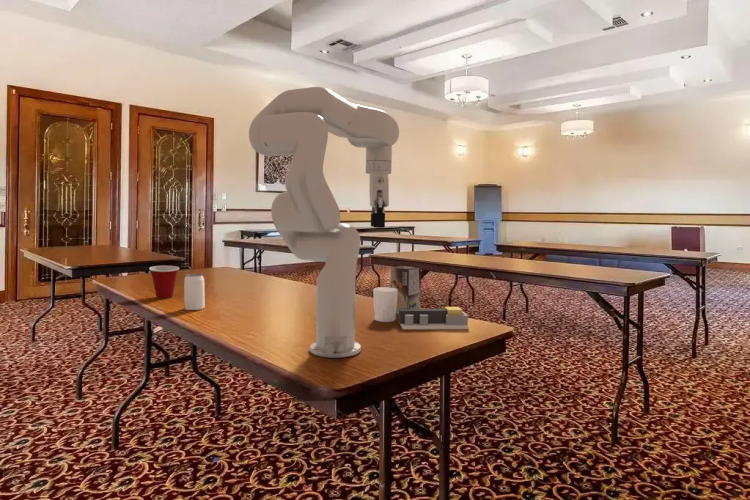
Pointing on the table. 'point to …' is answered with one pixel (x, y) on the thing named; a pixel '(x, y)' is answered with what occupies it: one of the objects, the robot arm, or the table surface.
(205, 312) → the table surface
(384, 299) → the white cup
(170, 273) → the plastic cup
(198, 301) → the can
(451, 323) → the clip rail
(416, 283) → the coffee box
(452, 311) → the gray box yellow end
